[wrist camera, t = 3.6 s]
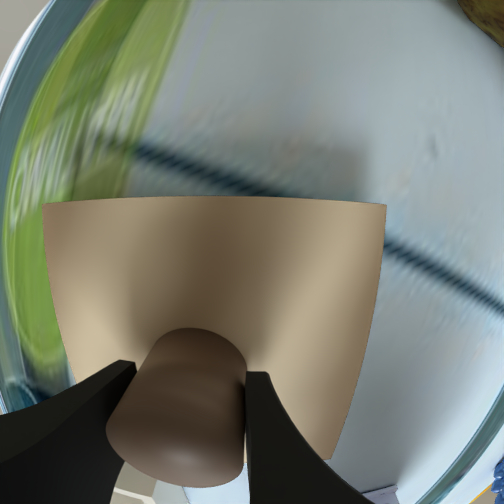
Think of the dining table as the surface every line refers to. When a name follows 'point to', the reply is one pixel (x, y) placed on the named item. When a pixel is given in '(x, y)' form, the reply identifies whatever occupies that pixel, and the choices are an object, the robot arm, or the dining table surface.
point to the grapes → (499, 483)
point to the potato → (486, 16)
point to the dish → (145, 489)
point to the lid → (215, 316)
